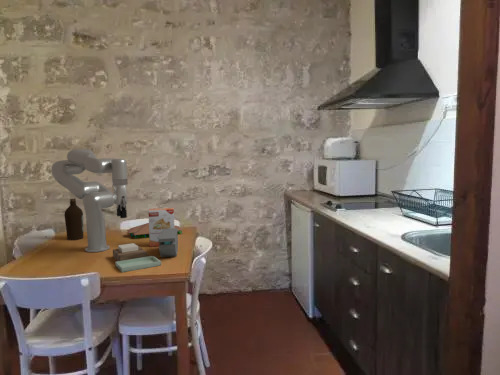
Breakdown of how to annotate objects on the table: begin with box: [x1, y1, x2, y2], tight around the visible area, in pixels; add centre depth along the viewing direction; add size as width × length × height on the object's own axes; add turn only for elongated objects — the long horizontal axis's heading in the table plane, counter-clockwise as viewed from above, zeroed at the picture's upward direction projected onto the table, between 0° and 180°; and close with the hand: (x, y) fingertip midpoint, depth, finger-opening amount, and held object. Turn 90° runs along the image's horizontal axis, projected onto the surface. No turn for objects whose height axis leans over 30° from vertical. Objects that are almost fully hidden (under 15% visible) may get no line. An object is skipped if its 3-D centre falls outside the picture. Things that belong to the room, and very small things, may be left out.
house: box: [126, 222, 184, 239], centre depth 256 cm, size 23×33×8 cm
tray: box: [114, 255, 162, 273], centre depth 185 cm, size 12×18×2 cm, turn 122°
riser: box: [112, 245, 149, 262], centre depth 197 cm, size 16×13×4 cm
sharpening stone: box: [158, 228, 179, 258], centre depth 205 cm, size 25×8×11 cm, turn 7°
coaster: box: [117, 242, 139, 253], centre depth 199 cm, size 8×8×2 cm
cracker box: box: [148, 207, 175, 248], centre depth 224 cm, size 14×6×21 cm, turn 102°
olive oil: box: [63, 198, 84, 241], centre depth 246 cm, size 11×11×25 cm
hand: (121, 216), depth 206 cm, fingers open, 6 cm apart
